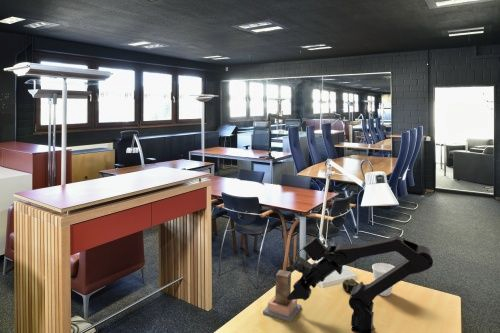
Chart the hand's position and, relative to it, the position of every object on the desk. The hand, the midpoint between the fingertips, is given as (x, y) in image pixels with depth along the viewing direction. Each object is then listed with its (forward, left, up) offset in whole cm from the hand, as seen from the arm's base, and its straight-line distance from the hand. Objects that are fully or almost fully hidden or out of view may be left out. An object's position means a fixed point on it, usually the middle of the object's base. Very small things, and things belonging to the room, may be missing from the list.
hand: (291, 292), depth 139 cm
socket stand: (+3, 0, -8) cm, 8 cm away
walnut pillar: (+3, 0, -7) cm, 8 cm away
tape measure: (-16, -29, -8) cm, 34 cm away
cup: (-28, -33, -8) cm, 44 cm away
